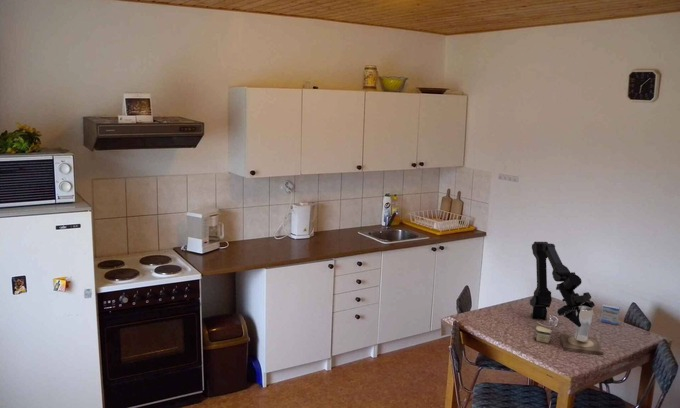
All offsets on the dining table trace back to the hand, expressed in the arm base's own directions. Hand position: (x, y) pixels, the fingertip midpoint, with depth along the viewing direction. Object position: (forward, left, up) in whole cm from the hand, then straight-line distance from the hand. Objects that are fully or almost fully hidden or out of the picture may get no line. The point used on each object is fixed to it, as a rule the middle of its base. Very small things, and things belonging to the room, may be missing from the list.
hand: (585, 325), depth 257 cm
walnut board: (-1, +1, -10) cm, 10 cm away
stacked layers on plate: (-17, +2, -11) cm, 20 cm away
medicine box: (+19, +37, -10) cm, 43 cm away
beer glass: (-1, +1, -7) cm, 7 cm away
